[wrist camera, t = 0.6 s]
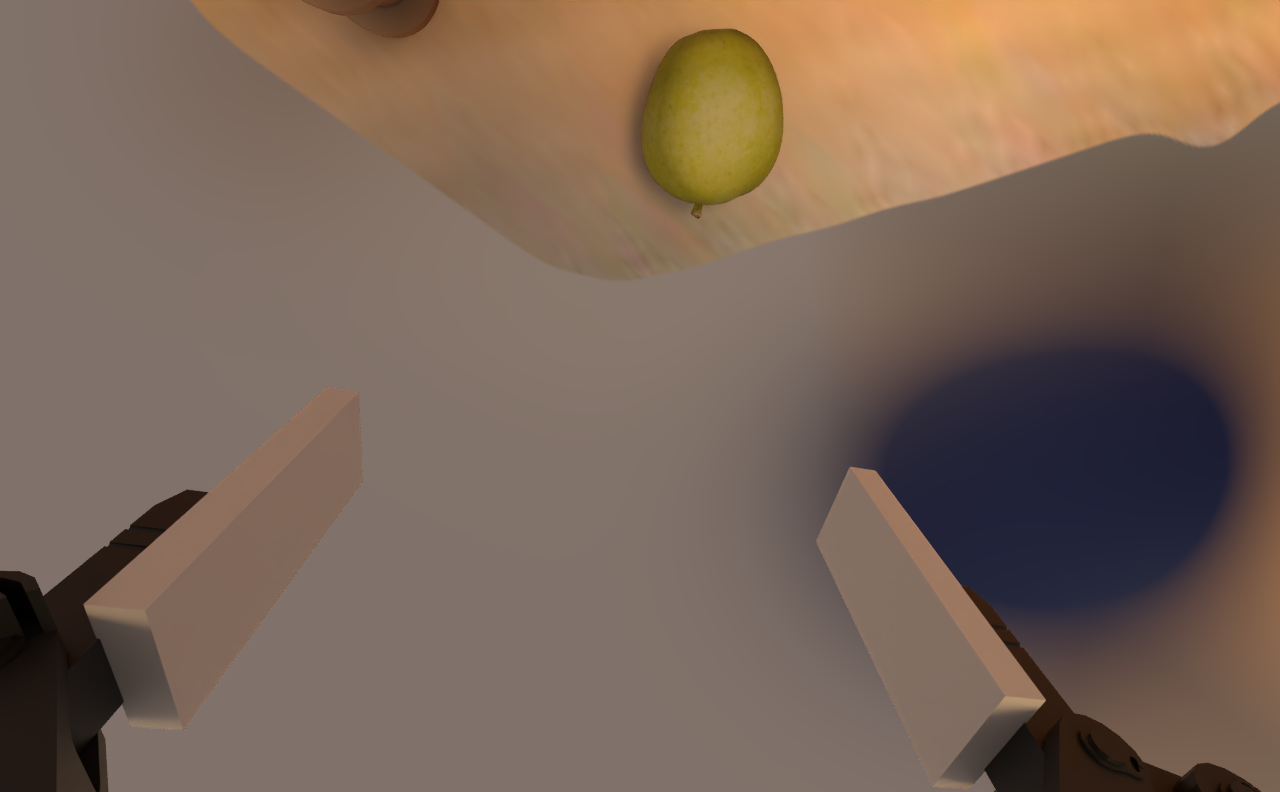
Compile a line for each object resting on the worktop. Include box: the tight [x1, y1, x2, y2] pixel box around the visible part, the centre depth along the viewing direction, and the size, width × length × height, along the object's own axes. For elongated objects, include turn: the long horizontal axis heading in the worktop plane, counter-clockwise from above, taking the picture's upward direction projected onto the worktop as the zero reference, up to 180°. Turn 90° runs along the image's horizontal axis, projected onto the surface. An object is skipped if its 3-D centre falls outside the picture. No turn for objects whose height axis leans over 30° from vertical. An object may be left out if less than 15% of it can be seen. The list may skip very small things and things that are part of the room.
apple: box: [641, 29, 783, 218], centre depth 29 cm, size 8×9×8 cm
